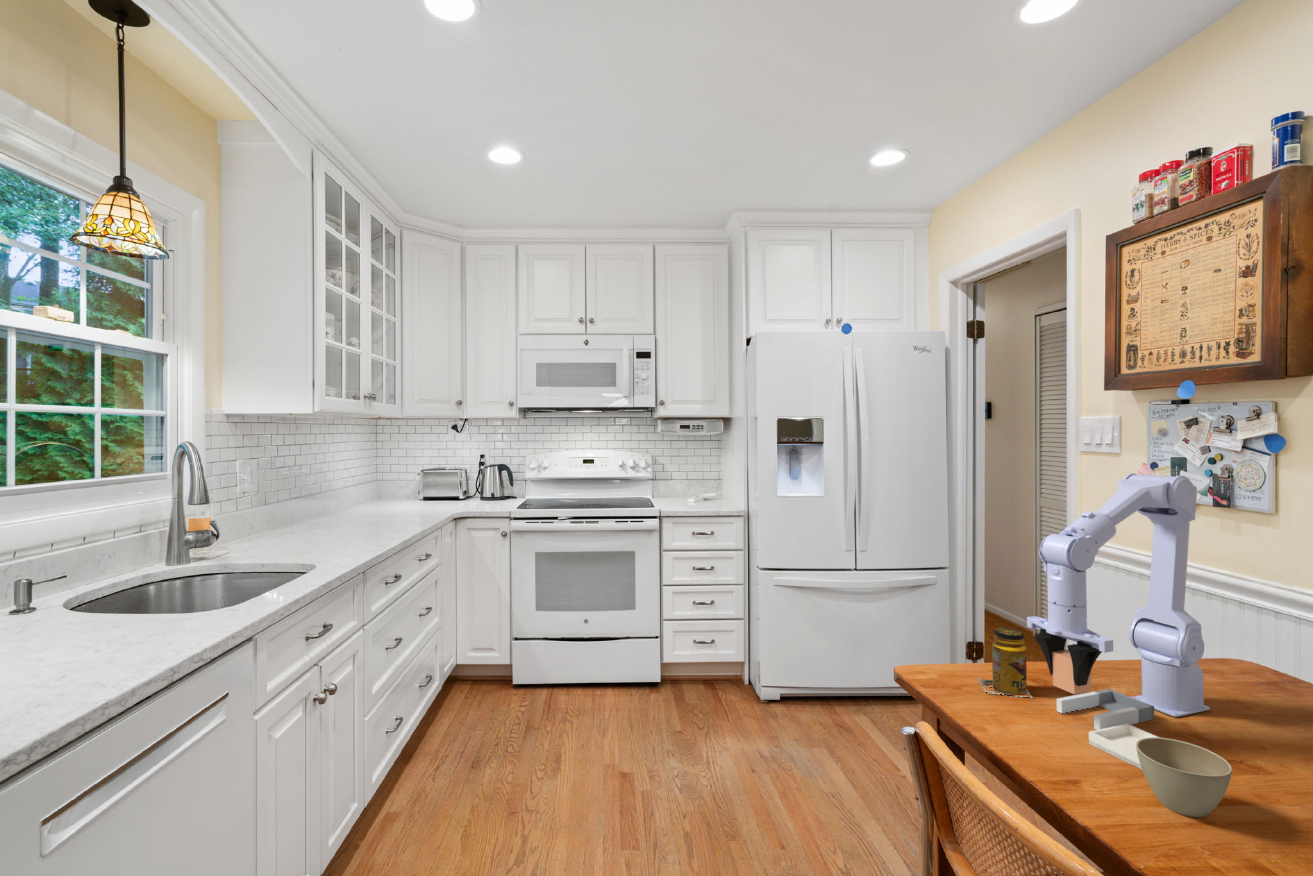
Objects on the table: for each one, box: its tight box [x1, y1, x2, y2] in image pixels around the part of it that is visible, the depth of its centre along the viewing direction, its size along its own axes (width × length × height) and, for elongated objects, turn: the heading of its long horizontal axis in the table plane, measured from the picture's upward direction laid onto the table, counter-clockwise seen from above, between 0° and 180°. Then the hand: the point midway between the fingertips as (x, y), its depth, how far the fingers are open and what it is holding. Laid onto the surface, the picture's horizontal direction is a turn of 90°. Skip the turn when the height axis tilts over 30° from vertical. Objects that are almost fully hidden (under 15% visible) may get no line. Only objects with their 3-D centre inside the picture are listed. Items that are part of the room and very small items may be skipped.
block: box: [1052, 649, 1092, 695], centre depth 106 cm, size 4×4×6 cm
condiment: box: [977, 627, 1034, 699], centre depth 122 cm, size 7×8×12 cm
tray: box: [1088, 724, 1161, 770], centre depth 97 cm, size 9×9×2 cm
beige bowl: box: [1136, 736, 1233, 818], centre depth 83 cm, size 10×10×7 cm
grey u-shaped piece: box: [1094, 688, 1155, 723], centre depth 111 cm, size 4×8×2 cm, turn 17°
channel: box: [1056, 691, 1139, 730], centre depth 109 cm, size 10×8×2 cm
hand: (1068, 679), depth 106 cm, fingers closed on block, 4 cm apart
